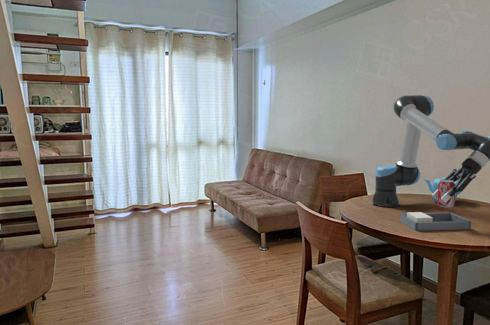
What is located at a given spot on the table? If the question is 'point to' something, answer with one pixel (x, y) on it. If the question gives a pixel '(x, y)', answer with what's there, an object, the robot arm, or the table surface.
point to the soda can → (442, 190)
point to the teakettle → (435, 187)
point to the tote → (438, 222)
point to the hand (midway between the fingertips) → (438, 198)
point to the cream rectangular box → (419, 217)
